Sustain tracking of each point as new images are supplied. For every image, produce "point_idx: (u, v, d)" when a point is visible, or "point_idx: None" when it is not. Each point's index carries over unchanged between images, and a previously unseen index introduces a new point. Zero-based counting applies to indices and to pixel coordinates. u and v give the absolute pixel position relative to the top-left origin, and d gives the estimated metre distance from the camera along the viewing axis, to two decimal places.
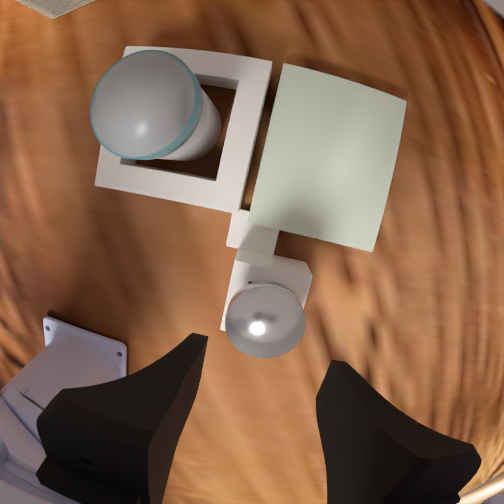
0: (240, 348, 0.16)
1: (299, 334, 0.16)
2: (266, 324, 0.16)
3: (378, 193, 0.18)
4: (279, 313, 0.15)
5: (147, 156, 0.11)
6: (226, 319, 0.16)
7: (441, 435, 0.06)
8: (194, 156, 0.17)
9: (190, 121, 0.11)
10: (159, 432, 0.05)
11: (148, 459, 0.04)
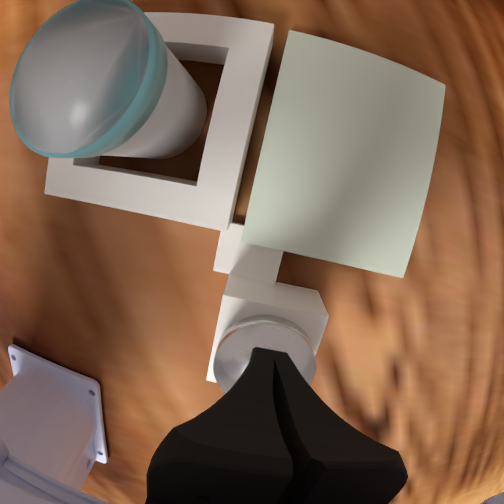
0: None
1: (307, 381, 0.12)
2: None
3: (413, 202, 0.13)
4: None
5: (77, 152, 0.07)
6: (214, 364, 0.12)
7: (365, 437, 0.06)
8: (168, 152, 0.13)
9: (141, 92, 0.06)
10: None
11: (286, 485, 0.04)
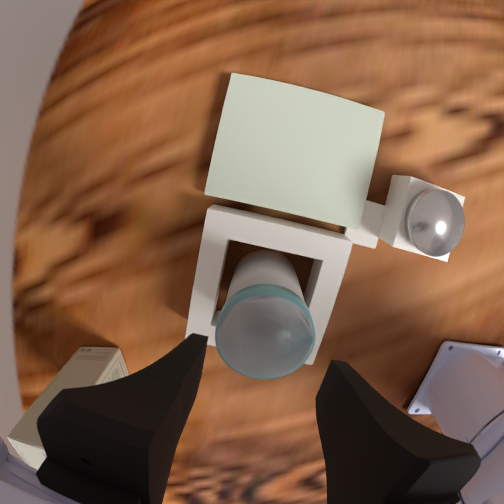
0: (455, 245, 0.17)
1: (449, 195, 0.16)
2: (439, 222, 0.16)
3: (330, 104, 0.18)
4: (431, 211, 0.16)
5: (314, 332, 0.14)
6: (432, 255, 0.17)
7: (441, 435, 0.06)
8: None
9: (288, 298, 0.14)
10: (159, 432, 0.05)
11: (148, 459, 0.04)
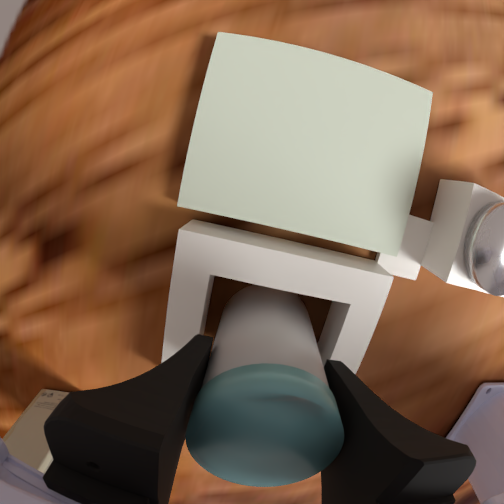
0: None
1: None
2: None
3: (359, 76, 0.12)
4: (501, 234, 0.10)
5: (342, 436, 0.08)
6: (496, 294, 0.11)
7: (436, 435, 0.06)
8: None
9: (305, 396, 0.07)
10: (169, 435, 0.05)
11: (158, 462, 0.04)
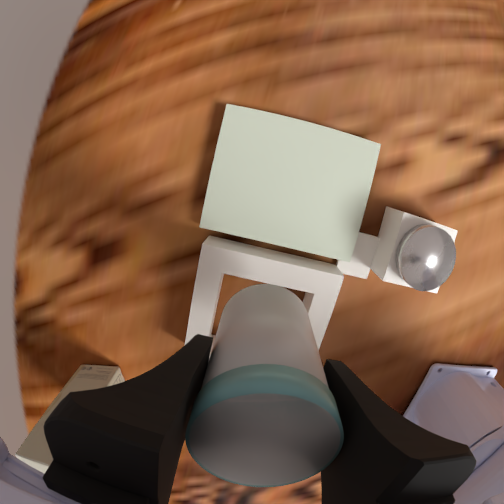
0: (445, 279, 0.17)
1: (441, 231, 0.17)
2: (429, 258, 0.17)
3: (325, 137, 0.18)
4: (422, 248, 0.17)
5: (341, 436, 0.08)
6: (421, 290, 0.17)
7: (436, 435, 0.06)
8: None
9: (305, 396, 0.07)
10: (168, 435, 0.05)
11: (158, 462, 0.04)
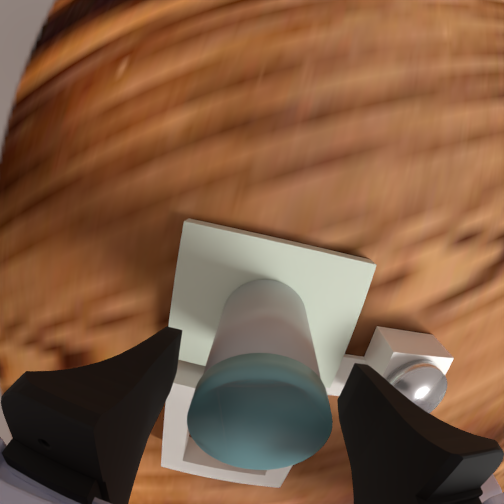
0: (430, 411, 0.15)
1: (433, 372, 0.14)
2: (416, 397, 0.14)
3: (307, 261, 0.16)
4: (409, 390, 0.14)
5: (330, 422, 0.09)
6: None
7: (465, 433, 0.06)
8: (307, 319, 0.15)
9: (295, 382, 0.08)
10: (111, 417, 0.05)
11: (95, 441, 0.04)
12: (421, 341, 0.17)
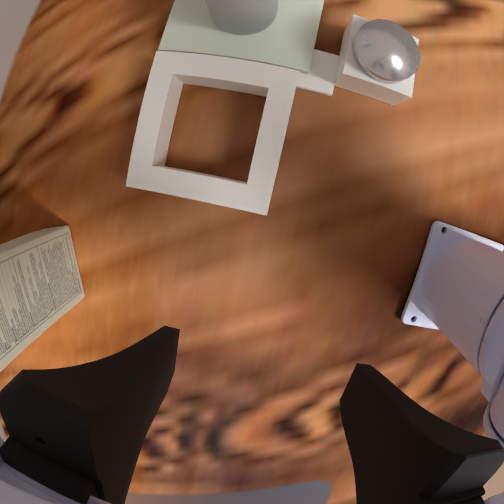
0: (413, 71, 0.14)
1: (395, 25, 0.13)
2: (388, 47, 0.14)
3: None
4: (377, 36, 0.14)
5: None
6: (387, 77, 0.14)
7: (468, 432, 0.06)
8: None
9: None
10: (106, 415, 0.05)
11: (90, 439, 0.04)
12: None
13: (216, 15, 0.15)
